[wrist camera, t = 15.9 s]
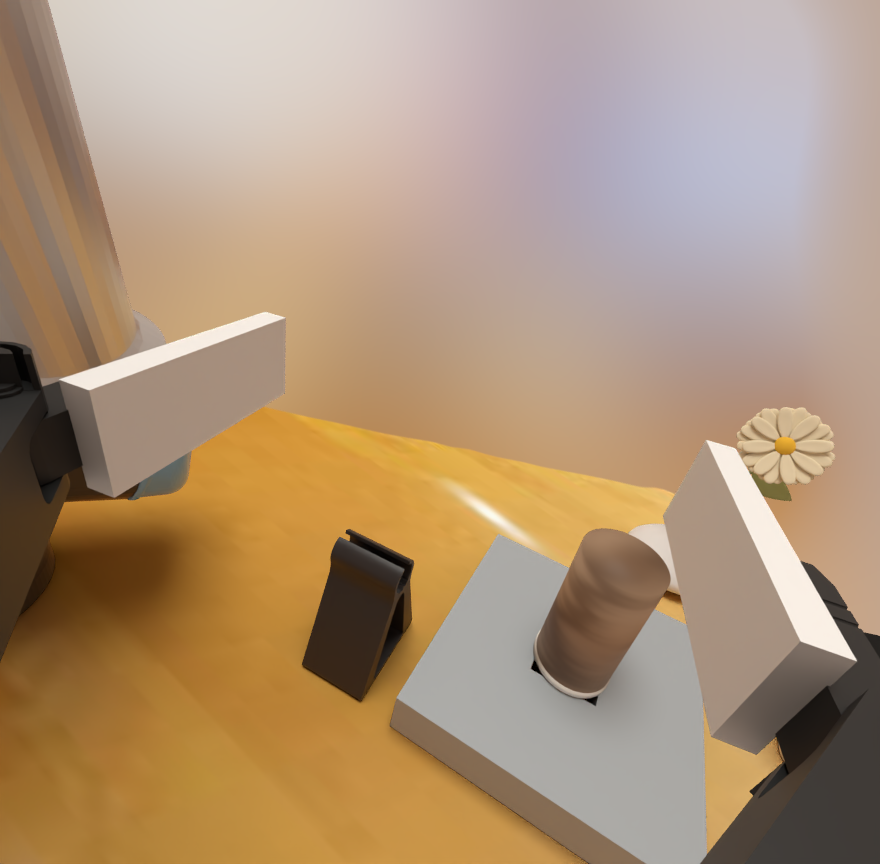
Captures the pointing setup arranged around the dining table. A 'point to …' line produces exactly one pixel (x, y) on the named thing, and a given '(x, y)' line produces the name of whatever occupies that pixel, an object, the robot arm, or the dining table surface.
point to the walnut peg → (599, 611)
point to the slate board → (564, 721)
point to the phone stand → (360, 613)
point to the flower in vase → (766, 464)
